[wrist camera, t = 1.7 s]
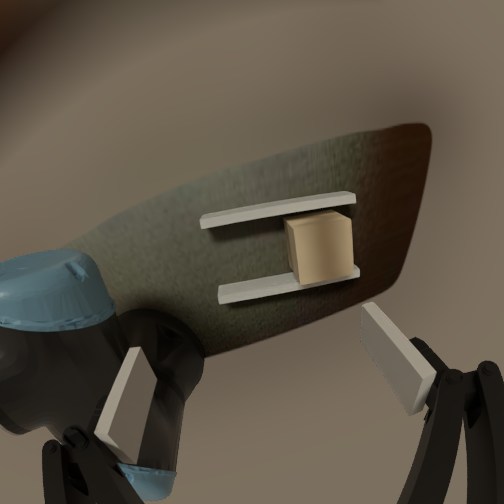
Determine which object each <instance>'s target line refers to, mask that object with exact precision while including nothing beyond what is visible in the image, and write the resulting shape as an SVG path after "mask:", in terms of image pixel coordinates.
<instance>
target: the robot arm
mask: <svg viewBox="0 0 504 504" xmlns="http://www.w3.org/2000/svg"><path fill="white" fill-rule="evenodd" d="M115 308H116V305H115V302H114V300H113V299H112V298H111V297H110V296H109V294H108V291H107V289H106V287H105V284H104V282H103V279H102V276H101V274H100V271H99V268H98V266H97V264H96V263H95V261H94V260H93V259H92V258H91V257H90V256H89V255H87V254H86V253H84V252H81V251H78V250H73V249H57V250H48V251H43V252H37V253H31V254H28V255H23V256H19V257H15V258H12V259H9V260H6V261H3V262H0V428H1V429H3V430H4V431H6V432H7V433H10V434H12V435H22V434H25V433H27V432H30V431H32V430H35V429H37V428H40V427H43V426H46V427H47V428H48V429H49V431H50V432H51V433H52V434H53V435H54V436H55V437H56V438H57V439H58V440H59V441H60V442H61V444H62V445H61V444H60V443H59V442H58V441H57V440H54V439H53V440H49V441H47V442H46V443H45V444H44V446H43V449H42V470H43V487H44V498H45V504H144V502H143V501H142V500H146V501H157V500H162V499H165V498H166V497H168V496H169V495H170V493H171V491H172V487H173V483H174V479H175V476H176V474H177V472H176V464H177V455H178V448H179V440H180V433H181V426H182V419H183V411H184V405H185V402H186V400H187V399H188V397H189V396H190V394H191V393H192V391H193V390H194V388H195V386H196V385H197V384H198V382H199V381H200V379H201V376H202V373H203V367H204V351H203V348H202V345H201V343H200V341H199V340H198V338H197V337H196V335H195V334H194V333H193V332H192V331H191V329H189V328H188V327H187V326H186V325H185V324H184V323H182V322H181V321H179V320H178V319H176V318H174V317H172V316H170V315H168V314H165V313H163V312H160V311H156V310H150V309H135V310H130V311H127V312H125V313H123V314H121V315H119V316H118V317H117V315H116V312H115ZM361 315H362V317H361V343H362V344H363V346H364V347H365V349H366V350H367V352H368V353H369V355H370V356H371V358H372V359H373V361H374V362H375V364H376V365H377V367H378V368H379V370H380V371H381V373H382V374H383V376H384V377H385V379H386V380H387V382H388V383H389V385H390V387H391V388H392V390H393V391H394V393H395V394H396V396H397V397H398V399H399V401H400V402H401V404H402V405H403V407H404V409H405V410H406V412H407V413H408V415H409V416H411V415H413V414H416V413H418V412H420V411H422V410H423V407H424V405H425V403H426V404H427V406H428V407H429V409H428V411H427V413H426V416H425V418H424V420H425V424H424V428H423V431H422V435H421V439H420V442H419V445H418V449H417V452H416V455H415V459H414V461H413V464H412V467H411V470H410V473H409V475H408V478H407V481H406V483H405V486H404V488H403V491H402V493H401V495H400V497H399V500H398V502H397V504H443V502H444V499H445V496H446V493H447V490H448V487H449V483H450V479H451V476H452V472H453V468H454V464H455V460H456V455H457V450H458V445H459V439H460V433H461V427H462V419H463V421H464V429H465V439H466V450H467V504H504V382H503V379H502V376H501V373H500V370H499V368H498V366H497V364H495V363H494V362H492V361H483V362H481V363H480V364H479V365H478V368H477V370H475V371H471V372H467V373H463V372H461V371H460V370H456V369H449V368H448V367H447V366H446V365H445V363H444V362H443V361H442V360H441V359H440V358H439V357H438V356H437V355H436V354H435V353H434V352H433V350H432V349H431V348H429V346H428V345H427V344H426V343H425V342H424V341H422V340H421V339H419V338H416V337H415V338H412V339H410V340H408V339H407V338H406V337H405V336H404V335H403V333H402V332H401V331H400V330H399V329H398V328H397V327H396V326H395V325H394V323H393V322H392V321H391V320H390V319H389V318H388V317H387V316H386V315H385V314H384V313H383V312H382V311H381V310H380V309H379V308H378V307H377V305H376V304H375V303H374V302H370V303H367V304H363V305H362V314H361Z"/></svg>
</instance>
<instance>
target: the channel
mask: <svg viewBox="0 0 504 504" xmlns="http://www.w3.org/2000/svg"><path fill="white" fill-rule="evenodd" d="M351 203H356V197H355V194H354V193H350V192H347V191H341V192H334V193H327V194H320V195H313V196H306V197H300V198H294V199H287V200H281V201H275V202H269V203H263V204H257V205H252V206H246V207H241V208H235V209H230V210H225V211H219V212H214V213H209V214H204V215H202V217H201V218H200V224H201V229H205V228H210V227H215V226H220V225H226V224H231V223H236V222H242V221H247V220H253V219H259V218H264V217H270V216H276V215H282V214H287V213H293V212H299V211H306V210H312V209H318V208H325V207H331V206H338V205H344V204H351ZM353 267H354V274H352V275H347V276H343V277H338V278H334V279H329V280H324V281H320V282H315V283H310V284H305V285H300V284H299V282H298V280H297V278H296V276H295V274H294V272H291V273H286V274H281V275H275V276H270V277H265V278H259V279H254V280H248V281H243V282H237V283H231V284H226V285H220V286H219V290H218V300H219V304H224V303H230V302H236V301H242V300H248V299H253V298H259V297H264V296H270V295H275V294H280V293H285V292H291V291H296V290H301V289H306V288H310V287H315V286H320V285H325V284H329V283H334V282H338V281H343V280H347V279H352V278H356V277H360V269H359V268H358V267H357V266H356V265H354V264H353Z"/></svg>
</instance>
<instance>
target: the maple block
mask: <svg viewBox="0 0 504 504" xmlns="http://www.w3.org/2000/svg"><path fill="white" fill-rule="evenodd" d="M283 221H284V228H285V235H286V242H287V249H288V257H289V264H290V267H291V269H292V271H293V272H294V274H295V276H296V278H297V280H298V282H299V284H300V285H305V284H310V283H315V282H320V281H324V280H329V279H334V278H338V277H343V276H347V275H352V274H354V267H353V244H352V227H351V219H349V218H347V217H345V216H343V215H341V214H339V213H338V212H336V211H334V210H332V209H331V210H325V211H318V212H312V213H306V214H300V215H294V216H288V217H283Z"/></svg>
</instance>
